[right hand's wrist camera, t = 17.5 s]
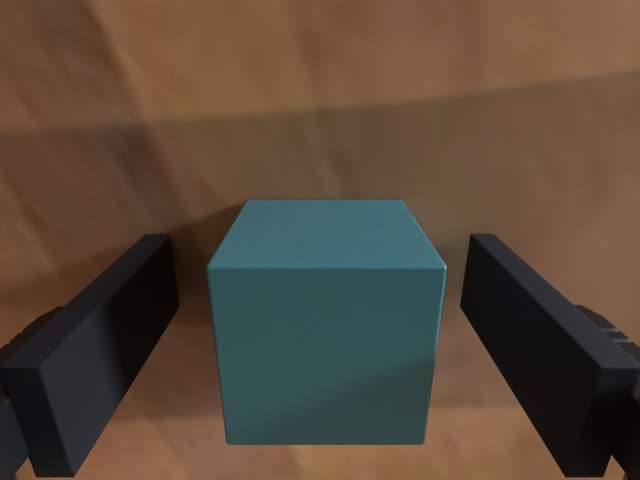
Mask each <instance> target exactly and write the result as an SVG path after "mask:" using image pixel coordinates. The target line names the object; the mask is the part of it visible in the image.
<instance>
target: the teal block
mask: <svg viewBox="0 0 640 480" xmlns="http://www.w3.org/2000/svg"><path fill="white" fill-rule="evenodd" d="M446 271H447V267H446V264H445V263H444V262H443V260H442V259H441V257H440V256H439V254H438V253H437V251H436V250H435V248H434V247H433V245H432V244H431V242H430V241H429V239H428V238H427V237H426V235H425V234H424V232H423V231H422V229H421V228H420V226H419V225H418V223H417V222H416V220H415V219H414V217H413V216H412V215H411V213H410V212H409V210H408V209H407V207H406V206H405V204H404V203H403V201H402V200H246V202H245V204H244V205H243V207H242V209H241V210H240V212H239V214H238V215H237V217H236V218H235V220H234V222H233V223H232V225H231V227H230V228H229V230H228V232H227V233H226V235H225V236H224V238H223V240H222V241H221V243H220V245H219V246H218V248H217V250H216V251H215V253H214V254H213V256H212V258H211V259H210V261H209V263H208V264H207V267H206V272H207V281H208V289H209V298H210V306H211V315H212V324H213V332H214V341H215V349H216V358H217V367H218V375H219V384H220V393H221V401H222V410H223V418H224V427H225V436H226V442H227V444H229V445H422V444H424V441H425V433H426V425H427V418H428V410H429V402H430V395H431V387H432V379H433V371H434V364H435V356H436V348H437V341H438V333H439V325H440V317H441V310H442V302H443V294H444V286H445V279H446Z"/></svg>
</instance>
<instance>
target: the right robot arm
mask: <svg viewBox="0 0 640 480" xmlns="http://www.w3.org/2000/svg"><path fill="white" fill-rule="evenodd" d="M179 307H180V306H179V300H178V293H177V286H176V279H175V273H174V266H173V259H172V253H171V246H170V239H169V234H146V235H144V236H143V237H142V238H141V239H140V240H139V241H138V242H137V243H135V244H134V245H133V246H132V247H131V248H130V249H129V250H128V251H126V252H125V253H124V254H123V255H122V256H121V257H120V258H119V259H117V260H116V261H115V262H114V263H113V264H112V265H111V266H110V267H108V268H107V269H106V270H105V271H104V272H103V273H102V274H100V275H99V276H98V277H97V278H96V279H95V280H94V281H93V282H91V283H90V284H89V285H88V286H87V287H86V288H85V289H84V290H82V291H81V292H80V293H79V294H78V295H77V296H76V297H75V298H73V299H72V300H71V301H70V302H69V303H68V304H67V305H66V306H64V307H57V308H55V309H53V310H51V311H49V312H47V313H46V314H44V315H42V316H40V317H38V318H37V319H35V320H34V321H33V322H32V323H31V324H29V325H28V326H27V327H26V328H25V329H24V330H22V331H23V332H22V333H19V334H18V335H16V336H15V337H14V338H13V339H12V340H10V343H9V344H6V345H5V346H3V347H2V348H1V349H0V480H18V479H17V477H16V474H15V473H16V472H17V470H18V469H19V468H20V467H21V465H22V464H23V463H24V461H25V460H26V459H27V457H28V456H29V459H30V462H31V464H32V467H33V470H34V473H35V475H36V477H74V476H75V475H76V473H77V472H78V470H79V468H80V467H81V465H82V464H83V462H84V460H85V459H86V457H87V455H88V454H89V452H90V451H91V449H92V447H93V446H94V444H95V443H96V441H97V439H98V438H99V436H100V434H101V433H102V431H103V430H104V428H105V426H106V425H107V423H108V421H109V420H110V418H111V417H112V415H113V413H114V412H115V410H116V409H117V407H118V405H119V404H120V402H121V400H122V399H123V397H124V396H125V394H126V392H127V391H128V389H129V388H130V386H131V384H132V383H133V381H134V379H135V378H136V376H137V375H138V373H139V371H140V370H141V368H142V366H143V365H144V363H145V362H146V360H147V358H148V357H149V355H150V354H151V352H152V350H153V349H154V347H155V345H156V344H157V342H158V341H159V339H160V337H161V336H162V334H163V332H164V331H165V329H166V328H167V326H168V324H169V323H170V321H171V320H172V318H173V316H174V315H175V313H176V311H177V310H178V308H179ZM460 307H461V309H462V311H463V312H464V314H465V315H466V317H467V319H468V320H469V322H470V323H471V325H472V327H473V328H474V330H475V332H476V333H477V335H478V336H479V338H480V340H481V341H482V343H483V345H484V346H485V348H486V349H487V351H488V353H489V354H490V356H491V357H492V359H493V361H494V362H495V364H496V366H497V367H498V369H499V370H500V372H501V374H502V375H503V377H504V379H505V380H506V382H507V383H508V385H509V387H510V388H511V390H512V391H513V393H514V395H515V396H516V398H517V400H518V401H519V403H520V404H521V406H522V408H523V409H524V411H525V412H526V414H527V416H528V417H529V419H530V421H531V422H532V424H533V425H534V427H535V429H536V430H537V432H538V434H539V435H540V437H541V438H542V440H543V442H544V443H545V445H546V446H547V448H548V450H549V451H550V453H551V455H552V456H553V458H554V459H555V461H556V463H557V464H558V466H559V468H560V469H561V471H562V472H563V474H564V476H565V477H603V476H604V474H605V471H606V468H607V465H608V463H609V460H610V457H611V455H612V456H613V457H614V458H615V460H616V461H617V462H618V464H619V465H620V466H621V467H622V469H623V470H624V471H625V474H624V477H623V479H622V480H640V347H639V346H637V345H636V344H635V343H634V342H630V339H629V338H628V337H627V336H625V335H624V334H623V333H622V332H621V331H617V328H616V327H615V326H613V325H612V324H611V323H610V322H609V321H607V320H606V319H605V318H604V317H603V316H601V315H599V314H597V313H595V312H593V311H591V310H589V309H588V308H586V307H584V306H582V305H573V304H572V303H571V302H569V301H568V300H567V299H566V298H565V297H564V296H563V295H562V294H560V293H559V292H558V291H557V290H556V289H555V288H554V287H553V286H551V285H550V284H549V283H548V282H547V281H546V280H545V279H544V278H542V277H541V276H540V275H539V274H538V273H537V272H536V271H535V270H533V269H532V268H531V267H530V266H529V265H528V264H527V263H526V262H524V261H523V260H522V259H521V258H520V257H519V256H518V255H516V254H515V253H514V252H513V251H512V250H511V249H510V248H509V247H507V246H506V245H505V244H504V243H503V242H502V241H501V240H500V239H498V238H497V237H496V236H495V235H494V234H471V236H470V243H469V249H468V256H467V263H466V270H465V276H464V283H463V290H462V297H461V303H460Z"/></svg>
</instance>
